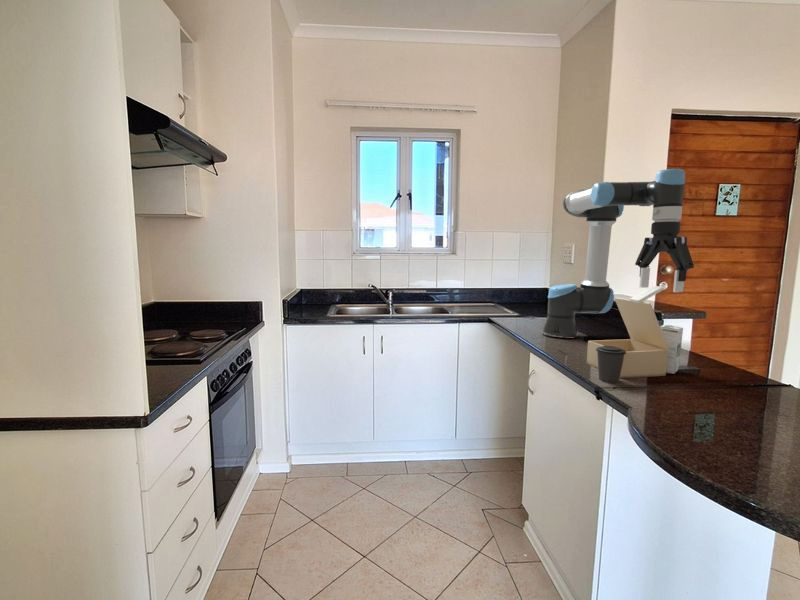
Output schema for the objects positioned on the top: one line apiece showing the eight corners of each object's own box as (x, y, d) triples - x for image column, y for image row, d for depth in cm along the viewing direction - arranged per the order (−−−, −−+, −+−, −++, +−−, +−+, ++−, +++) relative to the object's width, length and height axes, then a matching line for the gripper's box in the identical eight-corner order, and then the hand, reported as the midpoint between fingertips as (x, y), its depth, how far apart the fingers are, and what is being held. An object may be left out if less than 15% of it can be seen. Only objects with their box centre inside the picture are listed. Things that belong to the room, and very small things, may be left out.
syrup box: (657, 367, 132) (661, 324, 130) (679, 371, 128) (683, 326, 126) (653, 370, 128) (657, 326, 126) (675, 374, 124) (679, 328, 122)
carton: (586, 363, 136) (588, 340, 135) (628, 361, 139) (630, 339, 138) (618, 378, 120) (620, 352, 119) (665, 375, 123) (667, 350, 122)
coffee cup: (630, 383, 115) (633, 350, 114) (605, 384, 114) (607, 351, 113) (612, 375, 123) (614, 343, 122) (588, 376, 122) (590, 344, 121)
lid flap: (611, 296, 134) (634, 283, 135) (629, 339, 137) (651, 327, 138) (646, 301, 119) (671, 287, 120) (665, 350, 122) (689, 336, 123)
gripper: (626, 223, 134) (621, 285, 137) (690, 218, 110) (683, 294, 113) (646, 223, 135) (641, 285, 138) (714, 218, 111) (706, 294, 114)
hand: (660, 289), depth 126 cm, fingers open, 13 cm apart
